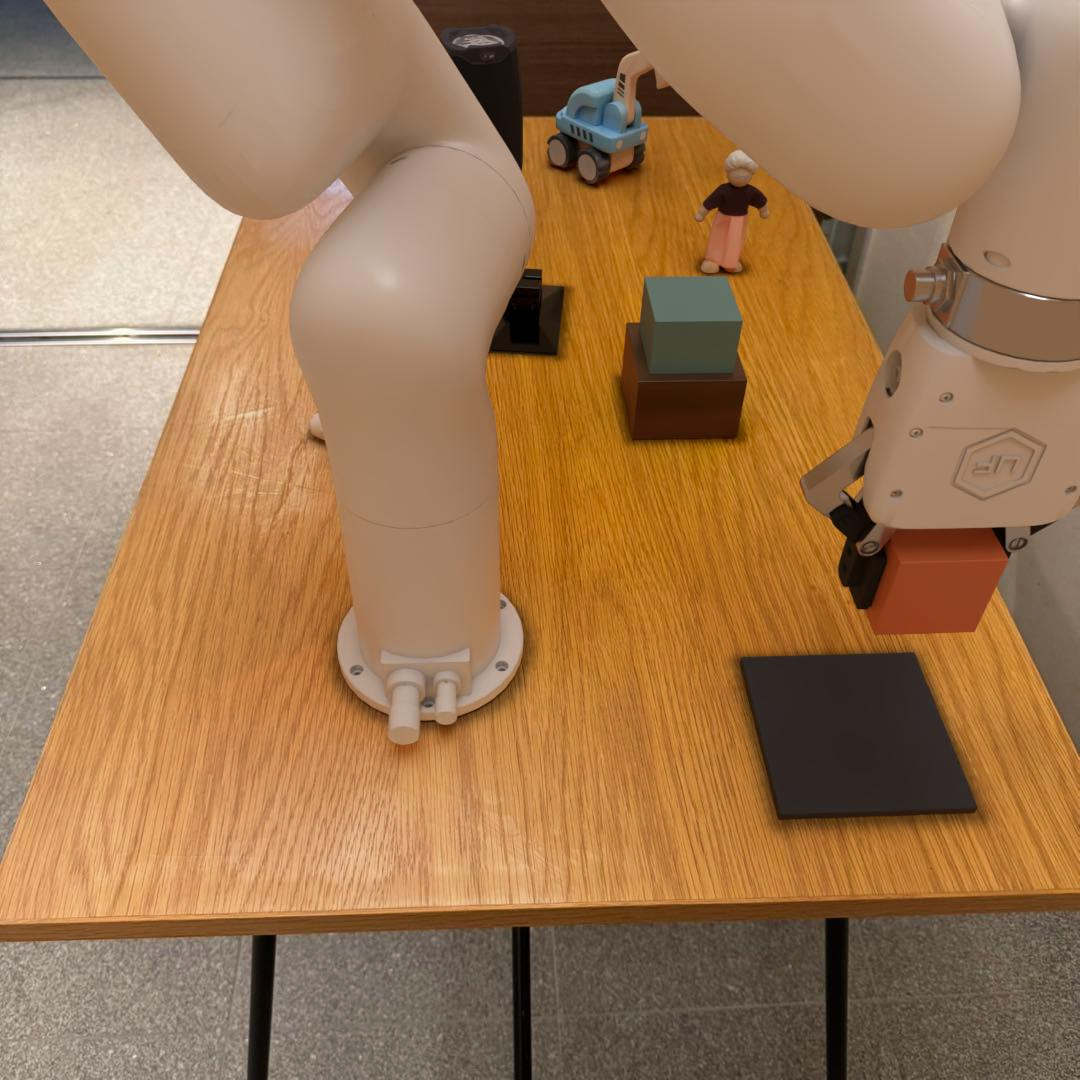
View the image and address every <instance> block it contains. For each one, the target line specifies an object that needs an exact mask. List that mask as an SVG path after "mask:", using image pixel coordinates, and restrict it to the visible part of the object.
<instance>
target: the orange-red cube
mask: <svg viewBox="0 0 1080 1080" xmlns="http://www.w3.org/2000/svg"><path fill="white" fill-rule="evenodd" d="M883 549H884V551H885V554H886V556H887V563H886V566H885V569H884V572H883V575H882V577H881V580H880V583H879V586H878V588H877V591H876V594H875V597H874V600H873V602H872V605H871V607H869V608H868V609H863V610H864V613H865V616H866V618H867V621H868V623H869V626H870V629H871V631H872V633H873V635H874V636H890V635H891V636H892V635H893V636H896V635H923V634H924V635H925V634H927V635H928V634H956V633H961V634H962V633H975V632H976V630H977V628H978V626H979V624H980V622H981V620H982V617H983V616H984V613H985V611H986V610H987V607H988V605H989V603H990V601H991V599H992V596H993V594H994V592H995V590H996V588H997V586H998V584H999V582H1000V580H1001V578H1002V576H1003V574H1004V572H1005V569H1006V567H1007V565H1008V563H1009V560H1010V558H1009V559H1008V557H1007V555H1006V553H1005V552H1004V550H1003V548H1002V546H1001V544H1000V543H999V541H998V539H997V537H996V535H995V533H994V532H993V530H992V528H991V527H990V528H950V529H898V530H897V531H896V532H895V533H894V534H893V536H892V537H891V538H890V539H889V541H888V542H887V543H886V544H885V545H884V547H883Z"/></svg>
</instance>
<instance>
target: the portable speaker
mask: <svg viewBox="0 0 1080 1080" xmlns="http://www.w3.org/2000/svg"><path fill="white" fill-rule="evenodd" d="M439 41H440V42H441V44H442V45H443V47H444V49H445V50H446V52H447V53H448V55H449V56H450V58H451V60H452V61H453V63H454V64H455V66H456V67H457V69H458V70H459V72H460V74H461V75H462V77H463V78H464V80H465V81H466V83H467V85H468V86H469V88H470V89H471V91H472V92H473V94H474V95H475V97H476V99H477V100H478V102H479V103H480V105H481V106H482V108H483V110H484V111H485V113H486V114H487V116H488V117H489V119H490V120H491V122H492V124H493V125H494V127H495V128H496V130H497V131H498V133H499V135H500V136H501V138H502V139H503V141H504V142H505V144H506V146H507V147H508V149H509V150H510V152H511V154H512V155H513V157H514V159H515V161H516V162H517V164H518V166H519V168H520V170H521V172H522V173H523V164H524V89H523V81H522V75H521V66H520V58H519V53H518V52H519V51H518V43H517V36H516V34H515V31H514V30H513V29H511V28H509V27H508V26H505V25H501V24H500V25H499V24H493V23H489V24H487V25H486V26H476V27H460V28H459V27H457V26H448V27H446V28H444V29H442V30H441V33H440V35H439Z"/></svg>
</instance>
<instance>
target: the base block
mask: <svg viewBox="0 0 1080 1080" xmlns="http://www.w3.org/2000/svg"><path fill="white" fill-rule="evenodd" d="M639 325H640V321H638V322H626V324H625V335H624V345H623V354H622V355H623V356H622V366H621V367H622V368H621V377H620V379H621V384H622V390H623V396H624V401H625V406H626V411H627V417H628V422H629V428H630V433H631V438H632V440H681V439H682V440H686V439H687V440H688V439H690V440H691V439H693V440H694V439H736V438H737V436H738V432H739V426H740V421H741V416H742V412H743V405H744V401H745V395H746V391H747V384H748V378H747V374H746V371H745V368H744V365H743V363H742V360H741V357H740V354H739V351H738V350H737V356H736V361H735V367H734V372H733V373H701V374H649V370H648V365H647V361H646V356H645V352H644V347H643V343H642V338H641V334H640V329H639Z"/></svg>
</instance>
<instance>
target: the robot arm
mask: <svg viewBox="0 0 1080 1080" xmlns="http://www.w3.org/2000/svg"><path fill="white" fill-rule="evenodd" d="M42 1H43V2H44V3H45V5H46V6H47V7H48V8H49V10H50V12H51V13H52V14H53V15H54V16H55V18H56V19H57V21H58V22H59V24H60V25H61V26H62V27H63V28H64V30H65V31H66V32H67V33H68V34H69V35H70V36H71V38H72V39H73V40H74V41H75V43H76V44H77V45H78V46H79V48H80V49H81V50H82V52H84V53H85V55H86V56H87V57H88V58H89V60H91V62H92V63H93V65H94V66H95V67H96V69H97V70H99V72H100V73H101V74H102V75H103V76H104V78H105V79H106V80H107V81H108V83H110V85H111V87H113V89H114V90H115V91H116V92H117V94H119V96H120V97H121V99H123V101H124V102H125V103H126V105H128V107H129V108H130V109H131V110H132V111H133V113H134V114H135V115H136V117H137V118H138V119H139V120H140V121H141V122H142V124H143V125H144V126H145V127H146V128H147V129H148V131H149V133H151V135H153V137H154V138H155V139H156V141H157V142H158V143H159V144H160V145H161V146H162V148H163V149H164V150H165V151H166V153H167V154H168V155H169V156H170V157H171V159H173V161H174V162H175V163H176V164H177V166H179V169H181V171H183V172H184V174H185V175H186V176H187V177H188V178H189V179H190V180H191V182H192V183H193V184H194V185H195V186H196V187H198V188H199V189H200V190H201V192H203V194H204V195H206V196H207V197H208V198H210V200H212V201H214V202H215V203H216V204H217V205H219V206H220V207H221V208H222V209H225V210H227V211H228V212H230V213H232V214H234V215H237V216H240V217H243V218H247V219H251V220H256V221H267V220H269V221H271V220H276V219H281V218H284V217H287V216H289V215H291V214H294V213H297V212H299V211H301V210H302V209H304V208H305V207H307V206H308V205H310V204H311V203H313V202H314V201H315V200H316V199H317V198H319V196H321V195H322V194H323V193H324V192H325V191H326V190H327V189H329V188H330V186H332V185H333V184H334V183H335V182H336V181H337V180H338V179H339V180H340V182H341V183H342V184H343V185H344V186H345V188H346V189H347V191H349V193H350V195H352V197H353V198H352V200H350V202H349V203H348V204H347V205H346V207H345V208H344V209H343V210H342V211H341V212H340V214H339V215H338V216H337V217H336V218H335V219H334V220H333V222H332V223H331V224H330V225H329V226H328V228H327V229H326V230H325V231H324V232H323V234H322V235H321V237H320V238H319V239H318V241H317V242H316V243H315V245H314V246H313V247H312V249H311V250H310V252H309V254H308V256H307V257H306V259H305V261H304V263H303V264H302V266H301V269H300V271H299V273H298V276H297V278H296V280H295V283H294V287H293V290H292V294H291V299H290V303H289V315H288V316H289V317H288V327H289V333H290V339H291V340H290V341H291V345H292V349H293V351H294V356H295V358H296V360H297V363H298V366H299V369H300V370H301V371H300V372H301V373H302V375H303V378H304V380H305V382H306V385H307V387H308V389H309V392H310V394H311V397H312V400H313V403H314V405H315V406H314V407H315V408H316V413H318V415H319V418H320V422H321V426H322V430H323V434H324V439H325V440H324V443H325V448H326V454H327V459H328V463H329V470H330V476H331V482H332V487H333V492H334V497H335V502H336V503H335V504H336V509H337V514H338V515H337V516H338V521H339V527H340V532H341V539H342V545H343V552H344V557H345V563H346V569H347V575H348V580H349V581H348V583H349V587H350V594H351V601H352V606H351V607H350V609H349V610H348V612H347V614H346V615H345V617H344V618H343V620H342V623H341V625H340V627H339V631H338V634H337V639H336V651H337V660H338V664H339V667H340V672H341V675H342V677H343V679H344V680H345V683H346V684H347V685H348V687H349V688H350V689H351V691H352V692H353V693H354V694H355V695H356V696H357V697H358V699H360V700H361V701H363V702H364V703H366V705H369V706H370V707H371V708H373V709H375V710H377V711H379V712H382V713H384V714H386V715H388V723H387V738H388V740H389V741H390V742H392V743H393V744H396V745H399V746H401V745H403V746H407V745H411V744H414V743H416V742H417V741H419V738H420V736H421V721H435V722H436V723H437V724H439V725H443V726H448V725H453V724H455V722H457V719H458V717H459V716H463V715H466V714H468V713H470V712H473V711H475V710H477V709H479V708H481V707H482V706H485V705H486V704H488V703H489V702H491V701H492V700H494V699H496V697H497V696H498V695H500V694H501V693H502V692H503V691H504V690H505V689H506V688H507V687H508V685H510V682H512V680H513V679H514V678H515V677H516V674H517V672H518V669H519V667H520V665H521V661H522V657H523V652H524V631H523V630H524V629H523V624H522V621H521V618H520V616H519V613H518V611H517V609H516V608H515V606H514V605H513V604H512V602H511V601H510V599H509V598H508V597H507V596H506V595H505V594H503V593H502V591H501V551H500V550H501V549H500V547H501V546H500V540H501V539H500V537H501V536H500V471H499V450H498V449H499V447H498V445H499V444H498V430H497V421H496V416H495V410H494V407H493V403H492V400H491V397H490V393H489V392H490V391H489V388H488V383H487V381H488V380H487V367H488V366H487V365H488V357H489V353H490V352H489V348H490V345H491V341H492V338H493V335H494V332H495V330H496V328H497V326H498V324H499V322H500V320H501V318H502V316H503V314H504V312H505V310H506V307H507V305H508V302H509V300H510V298H511V296H512V294H513V292H514V290H515V288H516V286H517V284H518V282H519V280H520V278H521V276H522V274H523V272H524V269H526V267H527V266H528V263H529V261H530V258H531V255H532V252H533V249H534V244H535V241H536V234H537V233H536V232H537V216H536V208H535V203H534V200H533V196H532V193H531V191H530V187H529V185H528V182H527V180H526V178H525V177H524V174H523V171H522V172H521V170H520V168H519V166H518V164H517V162H516V161H515V159H514V157H513V155H512V154H511V152H510V150H509V149H508V147H507V146H506V144H505V142H504V141H503V139H502V138H501V136H500V135H499V133H498V131H497V130H496V128H495V127H494V125H493V124H492V122H491V120H490V119H489V117H488V116H487V114H486V113H485V111H484V110H483V108H482V106H481V105H480V103H479V102H478V100H477V99H476V97H475V95H474V94H473V92H472V91H471V89H470V88H469V86H468V85H467V83H466V81H465V80H464V78H463V77H462V75H461V74H460V72H459V70H458V69H457V67H456V66H455V64H454V63H453V61H452V60H451V58H450V56H449V55H448V53H447V52H446V50H445V49H444V47H443V45H442V44H441V42H440V38H439V37H438V36H437V35H436V33H435V31H434V30H433V28H432V27H431V25H430V23H429V22H428V20H426V18H425V16H424V15H423V13H422V12H421V10H420V9H419V7H418V5H416V3H415V2H414V0H42ZM600 1H601V3H602V5H603V6H604V7H605V8H606V10H607V11H608V13H609V14H610V15H611V17H612V18H613V19H614V21H615V22H616V23H617V25H618V26H619V27H620V29H621V30H622V31H623V32H624V34H625V35H626V36H627V38H628V39H629V41H631V43H632V44H633V45H634V47H635V48H636V49H637V51H640V53H641V54H642V55H643V56H644V57H645V58H646V60H647V61H648V62H649V63H650V64H651V65H652V66H653V68H654V69H655V70H656V71H657V72H658V73H659V74H660V75H661V76H662V77H663V78H664V79H665V81H666V82H667V83H668V84H669V85H670V86H669V87H671V88H672V89H673V90H674V92H676V94H677V95H679V96H680V97H681V98H682V99H683V100H684V101H685V102H686V103H687V104H688V105H689V106H690V107H692V109H693V110H695V112H697V113H698V114H699V115H700V116H701V117H702V118H704V120H705V121H707V122H708V123H709V124H710V125H712V127H714V128H715V129H716V130H717V131H718V132H719V133H720V134H721V135H722V136H724V137H725V138H726V139H727V140H728V141H730V142H731V143H732V144H733V145H734V146H735V147H736V148H738V150H741V151H742V152H743V153H745V154H746V155H747V156H748V157H749V158H750V159H751V160H753V161H754V162H755V163H756V164H757V165H758V168H761V169H762V170H763V171H764V172H765V173H766V174H767V175H768V176H770V177H771V178H772V179H773V180H774V181H775V182H776V183H778V184H779V185H781V187H783V188H784V189H786V190H787V191H788V192H789V193H791V194H792V195H794V196H795V197H797V198H798V199H799V200H801V201H802V202H804V203H805V204H807V205H808V206H809V207H811V208H813V209H815V210H817V212H818V211H819V212H821V213H823V214H825V215H827V216H828V217H831V218H833V219H835V220H837V221H840V222H844V223H846V224H850V225H853V226H857V227H860V228H868V229H877V230H892V229H903V228H905V229H906V228H910V227H913V226H917V225H921V224H925V223H929V222H931V221H934V220H935V219H938V218H939V217H942V216H944V215H946V214H948V213H951V212H952V211H954V210H955V209H956V210H955V214H954V217H953V220H952V222H951V223H952V224H951V226H950V230H949V233H948V236H947V240H946V242H942V243H941V245H940V248H939V251H938V253H937V258H936V261H935V263H934V264H933V265H928V266H926V267H925V268H917V269H915V268H914V269H913V268H911V269H909V270H908V271H907V273H906V275H905V277H904V281H903V295H904V299H905V300H906V302H908V303H913V305H912V307H911V309H910V310H909V312H908V313H907V315H906V317H905V318H904V320H903V321H902V323H901V325H900V327H899V329H897V331H896V334H895V335H894V338H893V339H892V341H891V343H890V345H889V347H888V349H887V351H886V353H885V355H884V357H883V359H882V361H881V363H880V364H879V365H880V366H879V368H878V370H877V371H876V374H875V376H874V379H873V381H872V382H871V383H872V384H871V386H870V389H869V391H868V394H867V396H866V399H865V401H864V404H863V406H862V409H861V413H860V415H859V418H858V421H857V424H856V427H855V430H854V432H853V436H852V440H850V441H849V442H847V443H846V444H844V445H843V446H842V447H841V448H839V449H837V451H835V452H834V453H833V454H831V455H830V456H828V457H826V459H824V460H823V461H821V462H820V463H818V464H817V465H816V466H815V467H813V468H812V469H810V471H808V472H807V473H805V474H804V475H803V476H801V477H800V479H799V481H798V482H799V483H798V484H799V487H800V489H801V492H802V495H803V499H804V501H805V502H806V504H808V505H809V506H811V507H812V508H813V509H814V510H815V511H816V512H818V513H820V515H822V516H823V517H826V518H828V519H829V520H830V521H831V523H832V525H833V526H834V527H835V528H836V529H837V530H838V531H839V533H841V534H842V535H843V536H845V542H844V544H843V545H844V546H843V548H842V552H841V554H840V558H839V562H838V565H837V574H838V578H839V581H840V584H841V587H843V588H848V590H849V593H850V595H851V597H852V601H853V603H854V606H855V608H856V610H858V611H859V610H860V611H861V610H864V609H868V608H869V607H871V605H872V602H873V600H874V597H875V594H876V591H877V588H878V586H879V583H880V580H881V577H882V575H883V572H884V569H885V566H886V563H887V556H886V554H885V551H884V549H883V547H884V545H885V544H886V543H887V542H888V541H889V539H890V538H891V537H892V536H893V534H894V533H895V532H896V531H897V530H898V529H950V528H990V527H991V528H992V530H993V532H994V533H995V535H996V537H997V539H998V541H999V543H1000V544H1001V546H1002V548H1003V550H1004V552H1005V553H1006V555H1007V557H1008V559H1009V560H1010V558H1011V555H1012V554H1013V553H1014V554H1015V553H1020V552H1022V551H1024V550H1026V549H1027V548H1028V547H1029V546H1030V544H1031V536H1033V535H1035V534H1037V533H1039V532H1040V531H1042V530H1044V529H1045V528H1047V527H1049V526H1051V525H1053V524H1054V523H1056V522H1058V521H1059V520H1062V519H1063V518H1065V517H1066V516H1067V515H1068V514H1069V513H1070V512H1071V511H1072V510H1074V509H1076V508H1077V507H1079V506H1080V0H600ZM654 69H653V70H654ZM862 477H863V484H862V487H861V488H860V490H859V491H858V492H857V493H856V495H855V497H854V498H853V496H851V495H850V494H849V493H848V492H847V491H845V489H847V488H848V487H849V486H851V485H852V484H854V483H856V481H858V480H859V479H860V478H862Z"/></svg>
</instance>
